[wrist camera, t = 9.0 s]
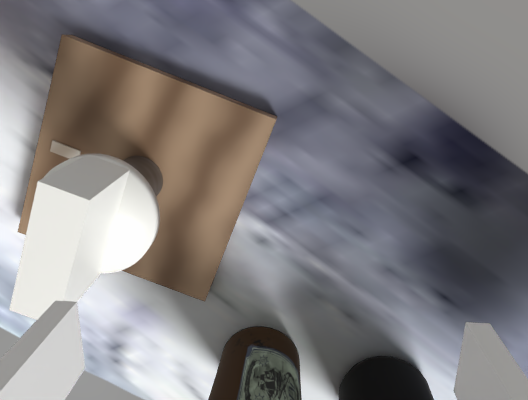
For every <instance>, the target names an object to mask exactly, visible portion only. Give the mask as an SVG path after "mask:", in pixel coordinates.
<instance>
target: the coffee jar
mask: <svg viewBox="0 0 528 400" xmlns="http://www.w3.org/2000/svg"><path fill="white" fill-rule="evenodd" d="M339 400H434V399H433V396H432V394H431V391H430V388H429V386H428V383H427V381H426V379H425V378H424V377H423V375H422V374H421V372H420V371H419V370H418V369H416V368H415V367H413V366H412V365H411V364H409V363H408V362H406V361H403V360H400V359H397V358H394V357H388V356H377V357H372V358H367V359H365V360H363V361H362V362H360V363H358V364H356V365H355V366H354V367H353V368H352V369H351V370H350V371H349V372H348V373H347V374H346V375H345V377H344V379H343V381H342V383H341V385H340V390H339Z"/></svg>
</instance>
